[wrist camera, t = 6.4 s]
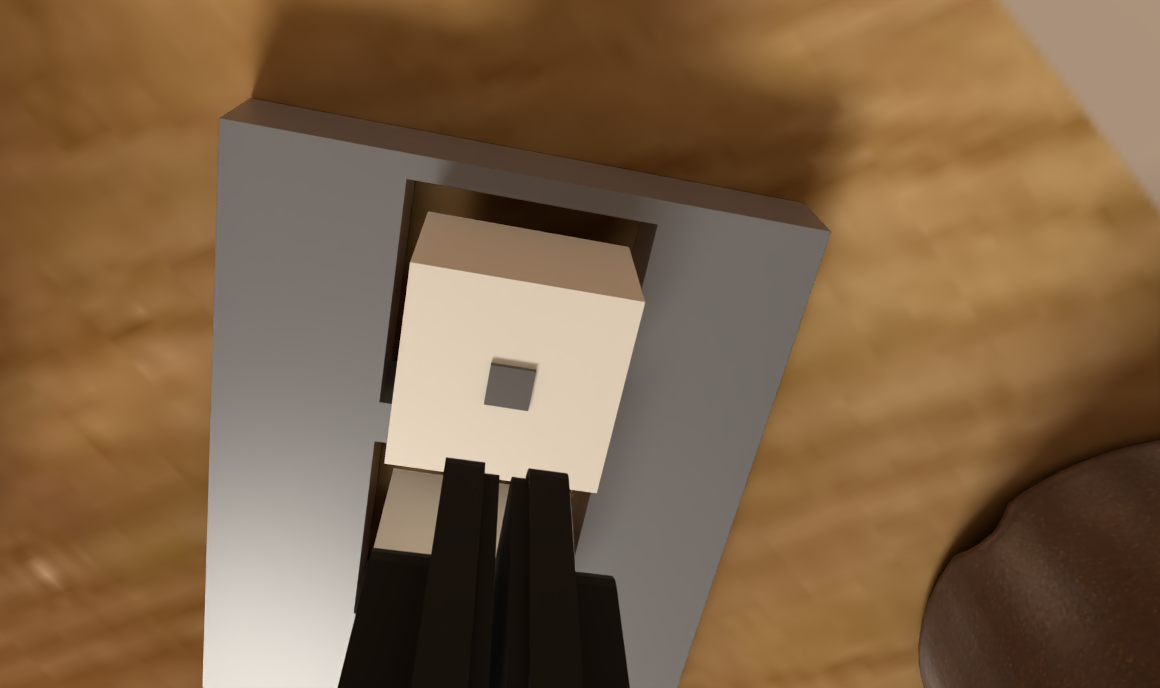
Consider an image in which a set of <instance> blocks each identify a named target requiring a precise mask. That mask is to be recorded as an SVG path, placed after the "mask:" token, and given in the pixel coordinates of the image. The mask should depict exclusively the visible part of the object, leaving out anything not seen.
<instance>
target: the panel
mask: <svg viewBox="0 0 1160 688" xmlns="http://www.w3.org/2000/svg"><path fill="white" fill-rule="evenodd" d="M415 181H421V182H426V183H432V184H437V185H443V186H448V187H454V188H459V189H465V190H470V191H476V192H481V193H487V194H492V195H498V196H503V197H509V198H514V199H520V200H525V201H531V202H536V203H542V204H547V205H553V206H558V207H564V208H569V209H575V210H580V211H586V212H591V213H597V214H602V215H608V216H613V217H619V218H624V219H630V220H635V221H640V224H639V229H638V233H637V237H636V241H635V245H634V249H633V253H632V259H633V262H634V266H635V269H636V273H637V276H638V279H639V283H640V286H641V290H642V293H643V296H644V300H645V305H644V309H643V313H642V317H641V321H640V324H639V328H638V332H637V336H636V340H635V344H634V348H633V352H632V356H631V360H630V364H629V368H628V372H627V376H626V380H625V384H624V388H623V392H622V395H621V399H620V403H619V407H618V411H617V415H616V419H615V423H614V427H613V431H612V435H611V439H610V443H609V447H608V451H607V455H606V459H605V463H604V467H603V470H602V474H601V478H600V482H599V486H598V490H597V493H591V492H584V491H577V490H575V494H574V498H573V503H572V507H571V509H572V524H573V539H574V554H575V569H576V572H584V573H593V574H601V575H610V576H613V577H614V579H615V582H616V586H617V593H618V600H619V608H620V616H621V623H622V631H623V639H624V646H625V654H626V662H627V669H628V677H629V685H630V688H677V686H678V683H679V680H680V677H681V675H682V672H683V669H684V666H685V663H686V660H687V657H688V654H689V651H690V648H691V645H692V642H693V639H694V636H695V633H696V630H697V627H698V624H699V621H700V618H701V615H702V612H703V609H704V606H705V603H706V601H707V598H708V595H709V592H710V589H711V586H712V583H713V580H714V577H715V574H716V571H717V568H718V565H719V562H720V559H721V556H722V553H723V550H724V547H725V544H726V541H727V538H728V535H729V532H730V529H731V526H732V524H733V521H734V518H735V515H736V512H737V509H738V506H739V503H740V500H741V497H742V494H743V491H744V488H745V485H746V482H747V479H748V476H749V473H750V470H751V467H752V464H753V461H754V458H755V455H756V452H757V450H758V447H759V444H760V441H761V438H762V435H763V432H764V429H765V426H766V423H767V420H768V417H769V414H770V411H771V408H772V405H773V402H774V399H775V396H776V393H777V390H778V387H779V384H780V381H781V378H782V375H783V373H784V370H785V367H786V364H787V361H788V358H789V355H790V352H791V349H792V346H793V343H794V340H795V337H796V334H797V331H798V328H799V325H800V322H801V319H802V316H803V313H804V310H805V307H806V304H807V301H808V299H809V296H810V293H811V290H812V287H813V284H814V281H815V278H816V275H817V272H818V269H819V266H820V263H821V260H822V257H823V254H824V251H825V248H826V245H827V242H828V239H829V236H830V233H831V231H830V230H829V229H828V228H827V227H826V226H825V225H824V224H823V223H822V222H821V221H820V220H819V219H818V218H817V216H816V215H815V214H814V213H813V212H812V211H811V210H810V209H809V208H808V207H807V206H806V205H805V204H804V203H801V202H796V201H791V200H785V199H780V198H775V197H769V196H764V195H759V194H754V193H748V192H743V191H738V190H733V189H727V188H722V187H717V186H711V185H706V184H701V183H696V182H690V181H685V180H680V179H674V178H669V177H664V176H659V175H653V174H648V173H643V172H638V171H632V170H627V169H622V168H616V167H611V166H606V165H601V164H595V163H590V162H585V161H579V160H574V159H569V158H564V157H558V156H553V155H548V154H543V153H537V152H532V151H527V150H521V149H516V148H511V147H506V146H500V145H495V144H490V143H484V142H479V141H474V140H469V139H463V138H458V137H453V136H448V135H442V134H437V133H432V132H426V131H421V130H416V129H411V128H405V127H400V126H395V125H389V124H384V123H379V122H374V121H368V120H363V119H358V118H353V117H347V116H342V115H337V114H331V113H326V112H321V111H316V110H310V109H305V108H300V107H294V106H289V105H284V104H279V103H273V102H268V101H263V100H258V99H252V98H250V99H248V100H247V101H245V102H244V103H242V104H241V105H239V106H237V107H236V108H234V109H233V110H231V111H230V112H228V113H227V114H225V115H224V116H222V117H220V118H219V150H218V184H217V218H216V252H215V286H214V320H213V354H212V388H211V422H210V456H209V490H208V524H207V558H206V592H205V625H204V659H203V688H338V684H339V680H340V676H341V672H342V667H343V663H344V659H345V655H346V651H347V647H348V643H349V639H350V635H351V631H352V627H353V623H354V619H355V615H356V611H357V607H358V603H359V599H360V595H361V591H362V587H363V582H364V578H365V574H366V570H367V566H368V562H369V560H367V558H368V550H369V542H370V534H371V526H372V518H373V510H374V502H375V494H376V486H377V478H378V470H379V463H380V455H381V447H382V442H384V443H387V438H388V430H389V423H390V415H391V407H392V399H393V392H394V384H395V376H396V368H397V361H393V360H392V359H393V351H394V343H395V335H396V328H397V320H398V312H399V304H400V296H401V288H402V280H403V272H404V264H405V256H406V248H407V240H408V232H409V224H410V216H411V208H412V200H413V193H414V185H415Z"/></svg>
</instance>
